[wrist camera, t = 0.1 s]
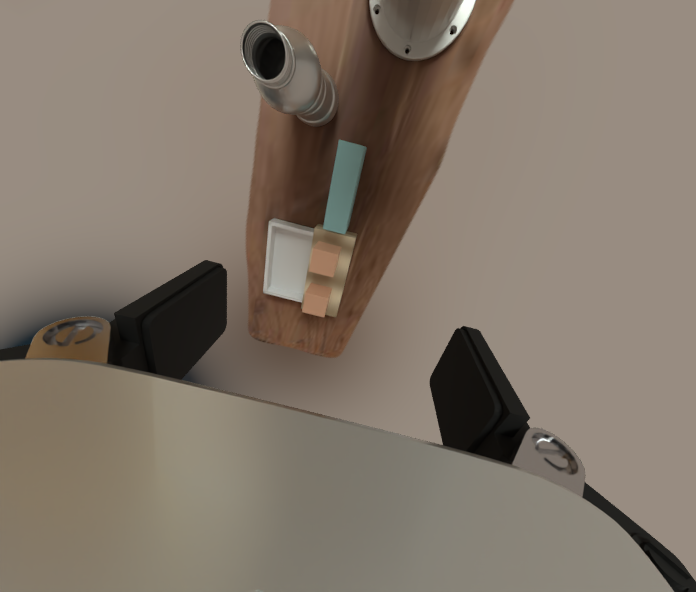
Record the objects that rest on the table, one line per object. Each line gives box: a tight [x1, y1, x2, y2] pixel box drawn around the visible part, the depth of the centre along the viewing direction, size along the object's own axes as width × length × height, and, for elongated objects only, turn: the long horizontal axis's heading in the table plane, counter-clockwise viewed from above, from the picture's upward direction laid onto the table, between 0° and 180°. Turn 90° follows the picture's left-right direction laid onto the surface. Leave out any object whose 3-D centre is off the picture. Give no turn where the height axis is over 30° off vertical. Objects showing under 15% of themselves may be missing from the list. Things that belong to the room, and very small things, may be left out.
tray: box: [263, 218, 314, 303], centre depth 48 cm, size 14×8×2 cm, turn 167°
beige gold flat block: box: [301, 224, 357, 317], centre depth 48 cm, size 16×7×3 cm, turn 167°
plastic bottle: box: [240, 20, 339, 127], centre depth 29 cm, size 6×7×20 cm
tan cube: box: [309, 241, 341, 277], centre depth 43 cm, size 4×4×4 cm
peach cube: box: [302, 283, 332, 317], centre depth 47 cm, size 4×4×4 cm
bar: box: [323, 140, 367, 234], centre depth 40 cm, size 12×4×6 cm, turn 167°
